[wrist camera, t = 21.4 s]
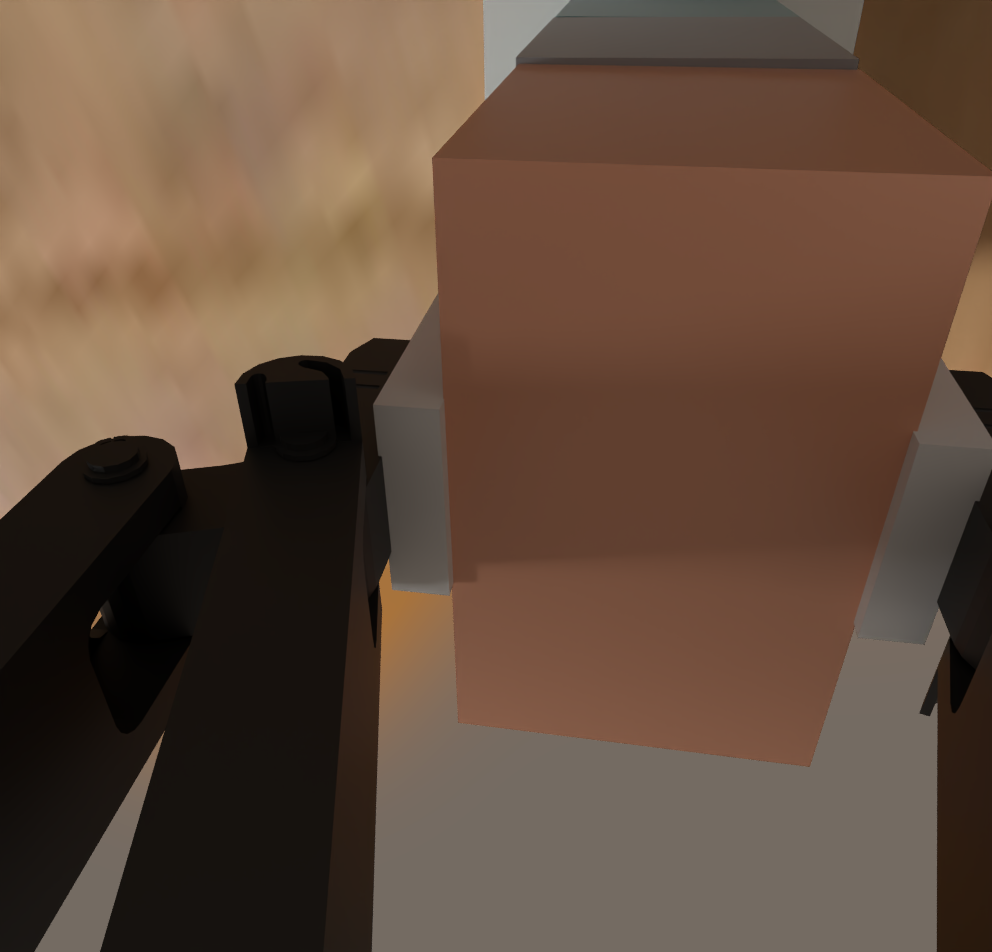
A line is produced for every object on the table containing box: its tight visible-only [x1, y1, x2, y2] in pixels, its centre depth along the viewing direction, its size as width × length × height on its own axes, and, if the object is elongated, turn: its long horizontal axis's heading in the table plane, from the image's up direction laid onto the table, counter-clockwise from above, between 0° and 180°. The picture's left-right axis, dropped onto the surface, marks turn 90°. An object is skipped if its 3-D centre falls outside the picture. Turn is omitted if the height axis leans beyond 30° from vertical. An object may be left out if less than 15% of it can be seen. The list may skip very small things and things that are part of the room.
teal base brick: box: [556, 0, 799, 17], centre depth 22 cm, size 5×8×6 cm, turn 0°
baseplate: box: [483, 0, 864, 100], centre depth 25 cm, size 10×12×1 cm
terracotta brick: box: [432, 64, 992, 767], centre depth 12 cm, size 5×8×6 cm, turn 0°
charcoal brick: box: [516, 17, 859, 70], centre depth 17 cm, size 5×8×6 cm, turn 1°
